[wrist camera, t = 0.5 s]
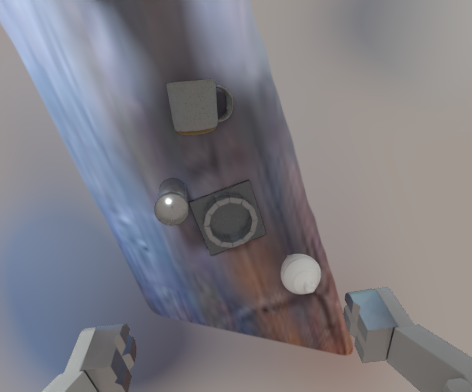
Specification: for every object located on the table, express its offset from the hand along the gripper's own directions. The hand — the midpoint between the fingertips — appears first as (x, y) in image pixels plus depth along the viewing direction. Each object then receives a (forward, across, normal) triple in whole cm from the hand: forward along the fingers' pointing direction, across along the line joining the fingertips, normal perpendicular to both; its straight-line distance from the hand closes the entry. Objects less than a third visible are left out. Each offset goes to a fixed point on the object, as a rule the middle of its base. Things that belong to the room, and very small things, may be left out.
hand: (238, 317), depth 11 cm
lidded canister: (+42, +11, +17) cm, 46 cm away
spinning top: (+41, -10, +35) cm, 55 cm away
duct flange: (+42, +1, +24) cm, 48 cm away
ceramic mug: (+46, +3, +3) cm, 46 cm away
